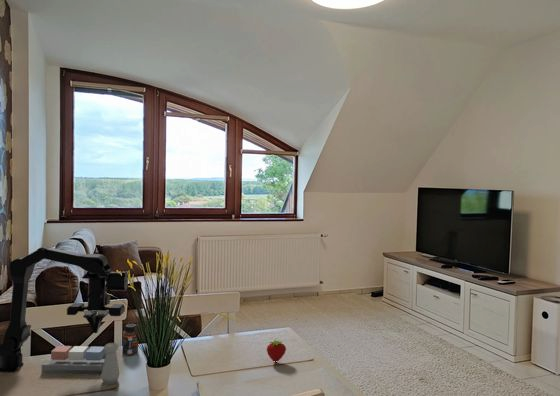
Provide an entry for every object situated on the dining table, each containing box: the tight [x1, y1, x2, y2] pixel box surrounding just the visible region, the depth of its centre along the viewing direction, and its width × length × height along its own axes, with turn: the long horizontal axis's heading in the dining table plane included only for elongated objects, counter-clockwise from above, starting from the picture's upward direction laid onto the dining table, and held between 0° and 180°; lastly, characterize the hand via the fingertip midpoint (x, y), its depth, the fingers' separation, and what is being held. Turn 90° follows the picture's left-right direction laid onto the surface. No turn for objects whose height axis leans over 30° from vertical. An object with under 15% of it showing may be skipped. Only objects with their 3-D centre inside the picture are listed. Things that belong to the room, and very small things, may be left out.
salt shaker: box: [100, 342, 121, 386], centre depth 144 cm, size 6×6×13 cm
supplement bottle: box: [121, 323, 139, 357], centre depth 167 cm, size 6×6×11 cm
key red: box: [50, 345, 73, 361], centre depth 154 cm, size 5×5×3 cm
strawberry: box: [266, 338, 287, 362], centre depth 164 cm, size 6×8×10 cm
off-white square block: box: [68, 345, 89, 360], centre depth 154 cm, size 5×5×3 cm
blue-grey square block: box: [86, 345, 105, 361], centre depth 154 cm, size 5×5×3 cm
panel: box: [41, 352, 106, 376], centre depth 154 cm, size 20×12×3 cm, turn 93°
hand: (95, 332), depth 154 cm, fingers closed
